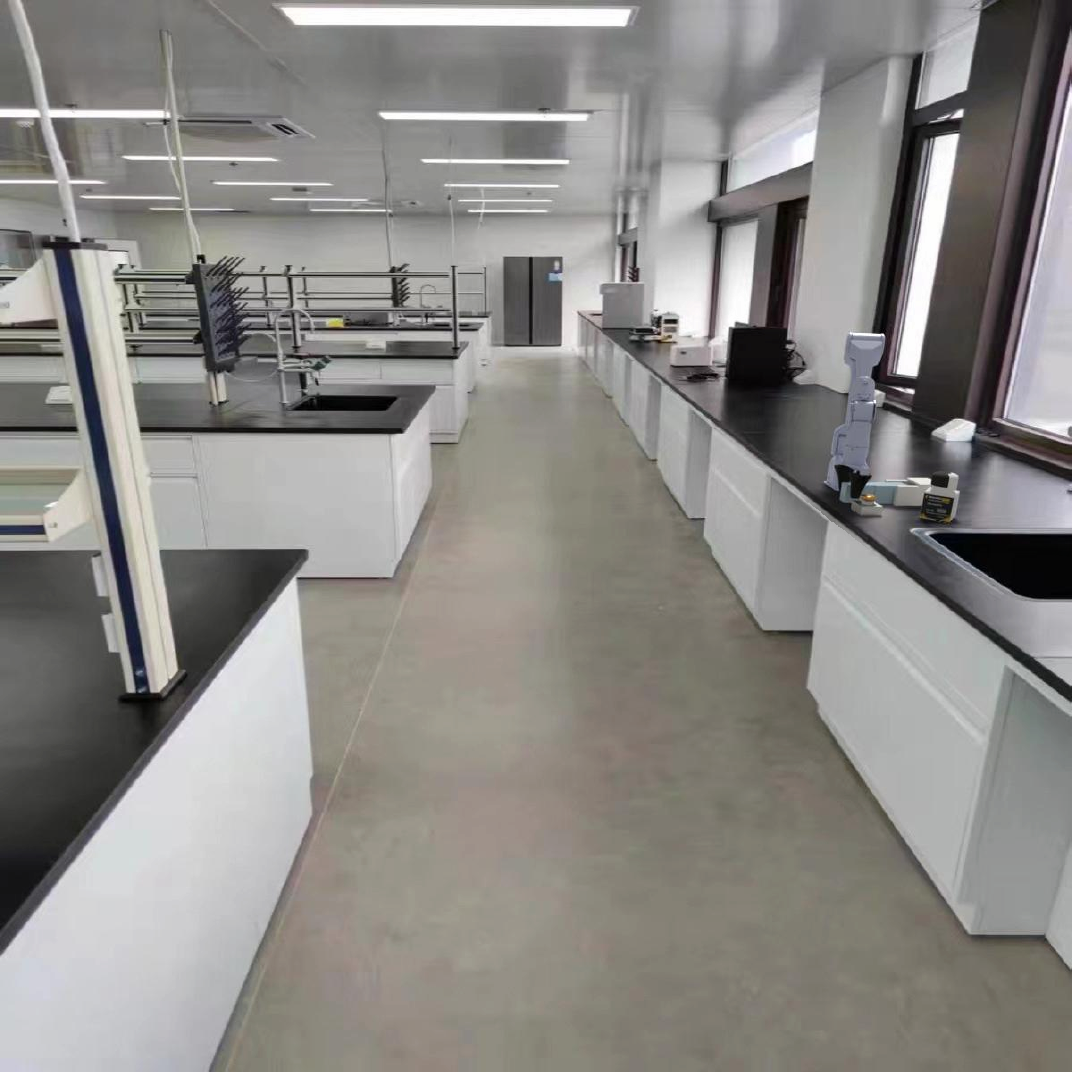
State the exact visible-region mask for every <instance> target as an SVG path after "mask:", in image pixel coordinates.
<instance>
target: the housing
mask: <svg viewBox="0 0 1072 1072" xmlns="http://www.w3.org/2000/svg"><path fill="white" fill-rule="evenodd" d="M884 482H902V483H904V484H906V485H908V486H903V485H896V489H895V495H894V501H893V504H892V505H893V506H896V507H898V506H901V507H903V506H904V507H905V506H906V507H907V506H908V507H910V506H911V507H920V506H922V501H923V496H924V492H925V491H926V490H927V489H928V488H930V483H931V478H929V477H906V479H885V480H884Z"/></svg>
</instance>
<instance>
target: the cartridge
mask: <svg viewBox="0 0 1072 1072" xmlns="http://www.w3.org/2000/svg"><path fill="white" fill-rule="evenodd" d="M896 485H903V486H908V485H906V484H904V483H902V482H885V481H877V482H876V481H870V482H867V484H866V485H865V487H864V489H863V491H862V493H861V495H862V494H871V495H875V496H876V497H877V498H876V500H874V502H876V503H878V504H879V505H882V504H885V505H886V504H888V505H890V504H891V505H893V501H894V495H895V489H896ZM850 491H851V482H842V487H841V491H840V493H839V501H840V502H842V503H843V504H852V501H862V499H861V496H860V498H859V499H852V498H851V496H850Z"/></svg>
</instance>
